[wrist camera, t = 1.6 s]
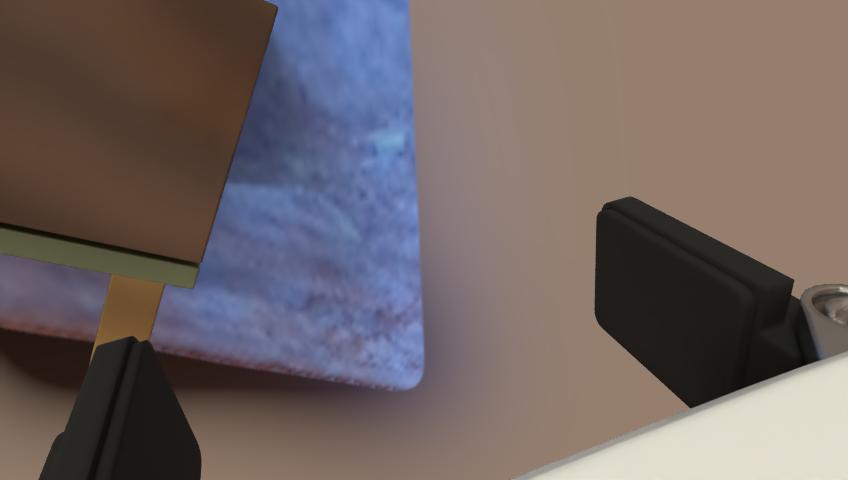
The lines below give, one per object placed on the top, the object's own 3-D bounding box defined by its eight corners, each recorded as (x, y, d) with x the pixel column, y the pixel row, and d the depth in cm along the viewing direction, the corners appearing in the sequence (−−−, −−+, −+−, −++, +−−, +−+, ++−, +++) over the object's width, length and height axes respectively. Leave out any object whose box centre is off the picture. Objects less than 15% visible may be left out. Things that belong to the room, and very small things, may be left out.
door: (178, 279, 35) (151, 427, 23) (-98, 226, 29) (-324, 390, 17) (210, 167, 33) (199, 268, 21) (-82, 84, 26) (-329, 161, 15)
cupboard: (211, 163, 33) (201, 264, 21) (-80, 79, 27) (-334, 154, 15) (259, -1, 30) (279, 6, 18) (-54, -136, 24) (-343, -263, 12)
